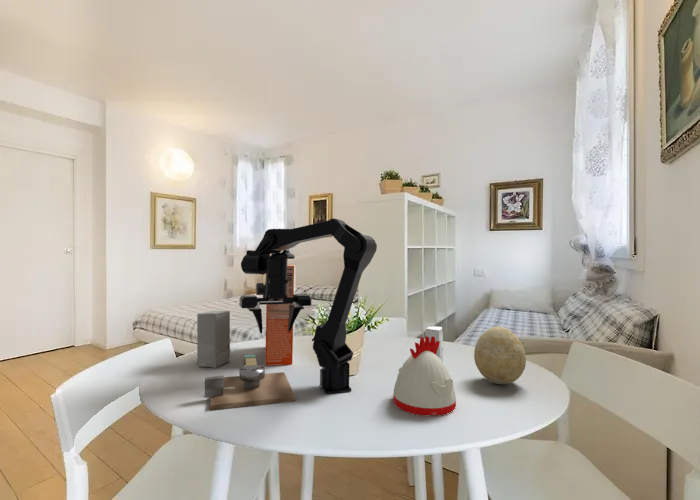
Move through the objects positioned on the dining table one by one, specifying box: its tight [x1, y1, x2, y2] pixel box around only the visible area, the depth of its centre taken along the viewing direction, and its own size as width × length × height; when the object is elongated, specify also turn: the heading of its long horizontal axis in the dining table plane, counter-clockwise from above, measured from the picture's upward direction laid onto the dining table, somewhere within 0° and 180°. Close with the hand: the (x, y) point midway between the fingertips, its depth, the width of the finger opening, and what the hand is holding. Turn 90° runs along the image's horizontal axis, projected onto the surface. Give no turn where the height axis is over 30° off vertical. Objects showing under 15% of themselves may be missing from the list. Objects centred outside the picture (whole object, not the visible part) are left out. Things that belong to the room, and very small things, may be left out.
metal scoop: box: [238, 353, 266, 381], centre depth 92 cm, size 16×6×2 cm, turn 18°
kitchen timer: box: [392, 336, 457, 416], centre depth 82 cm, size 14×14×15 cm
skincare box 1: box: [196, 310, 231, 369], centre depth 109 cm, size 8×7×16 cm
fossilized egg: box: [473, 325, 527, 385], centre depth 96 cm, size 13×13×15 cm
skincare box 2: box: [424, 325, 444, 363], centre depth 108 cm, size 6×4×12 cm
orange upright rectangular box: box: [264, 264, 297, 366], centre depth 120 cm, size 23×8×30 cm, turn 7°
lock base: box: [203, 371, 296, 411], centre depth 88 cm, size 20×19×5 cm
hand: (275, 332), depth 98 cm, fingers open, 7 cm apart
